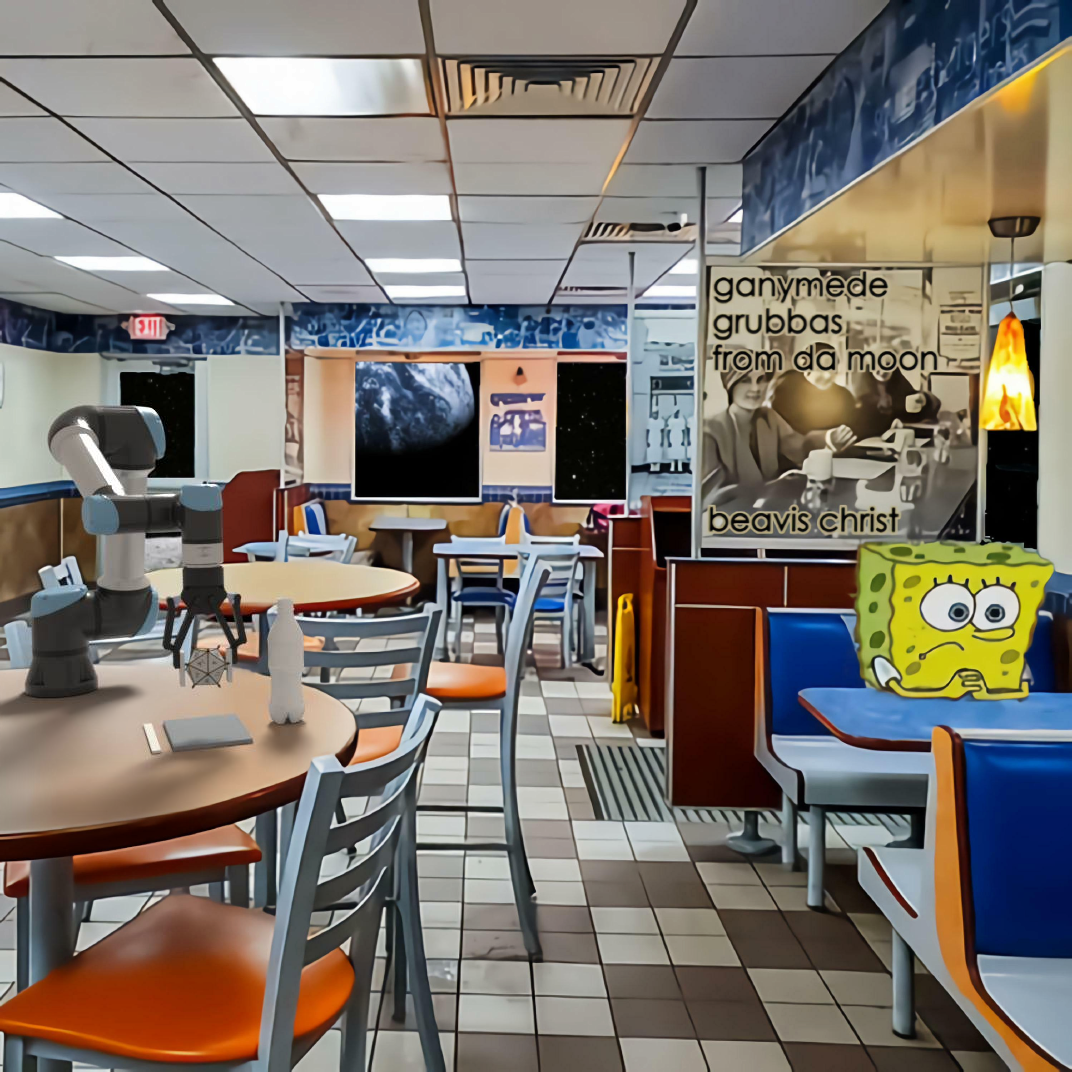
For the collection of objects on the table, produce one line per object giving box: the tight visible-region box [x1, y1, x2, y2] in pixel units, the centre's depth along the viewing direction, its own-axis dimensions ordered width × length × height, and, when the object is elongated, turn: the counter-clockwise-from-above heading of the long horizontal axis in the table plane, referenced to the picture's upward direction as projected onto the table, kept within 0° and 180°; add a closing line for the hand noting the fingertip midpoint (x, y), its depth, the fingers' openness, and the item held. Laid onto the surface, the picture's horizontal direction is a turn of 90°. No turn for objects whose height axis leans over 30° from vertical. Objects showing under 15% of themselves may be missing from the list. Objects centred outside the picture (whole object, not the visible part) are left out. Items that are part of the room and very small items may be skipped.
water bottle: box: [266, 596, 306, 725], centre depth 212 cm, size 7×7×25 cm
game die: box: [184, 644, 230, 689], centre depth 202 cm, size 9×8×10 cm
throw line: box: [143, 722, 162, 755], centre depth 199 cm, size 20×2×1 cm, turn 25°
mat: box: [163, 713, 254, 752], centre depth 203 cm, size 20×14×1 cm
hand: (206, 682), depth 202 cm, fingers closed on game die, 8 cm apart
